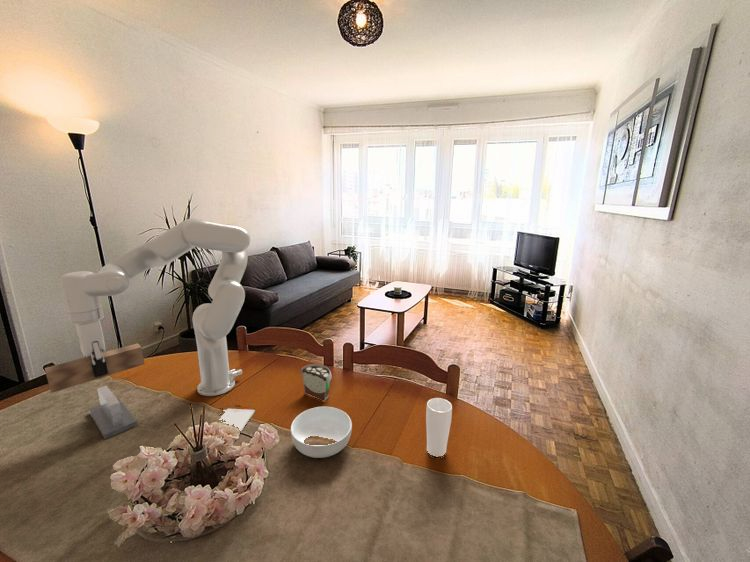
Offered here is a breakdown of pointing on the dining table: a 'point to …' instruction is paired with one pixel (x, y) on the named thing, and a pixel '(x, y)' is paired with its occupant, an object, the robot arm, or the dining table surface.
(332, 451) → the cereal bowl
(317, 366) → the food container
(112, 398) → the balance stand
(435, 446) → the drinking glass
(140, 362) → the walnut bar
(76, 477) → the dining table surface
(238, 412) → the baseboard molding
